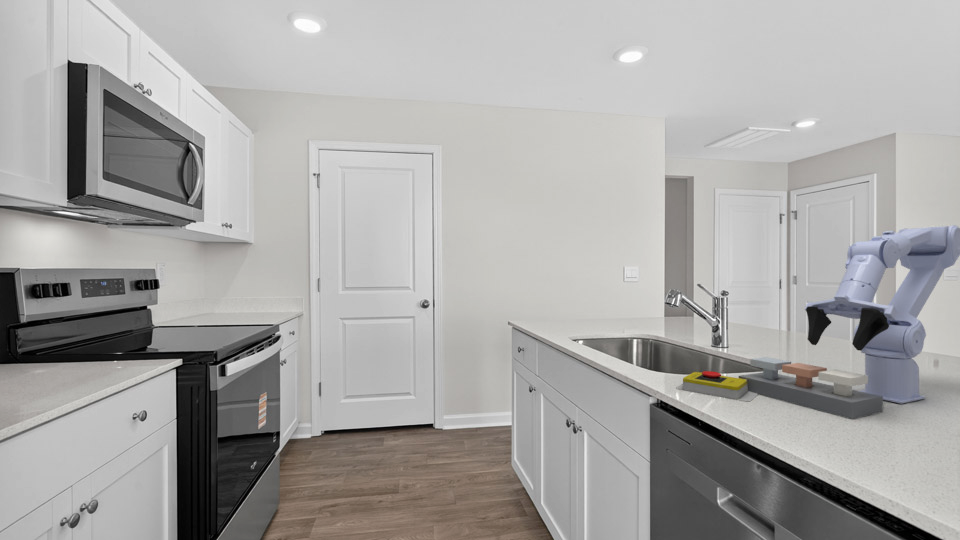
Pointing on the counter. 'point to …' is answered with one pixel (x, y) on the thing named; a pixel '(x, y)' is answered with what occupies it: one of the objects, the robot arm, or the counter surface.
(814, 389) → the key console
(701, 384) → the emergency button
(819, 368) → the terracotta key
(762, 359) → the slate key
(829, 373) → the ivory key
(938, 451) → the counter surface
